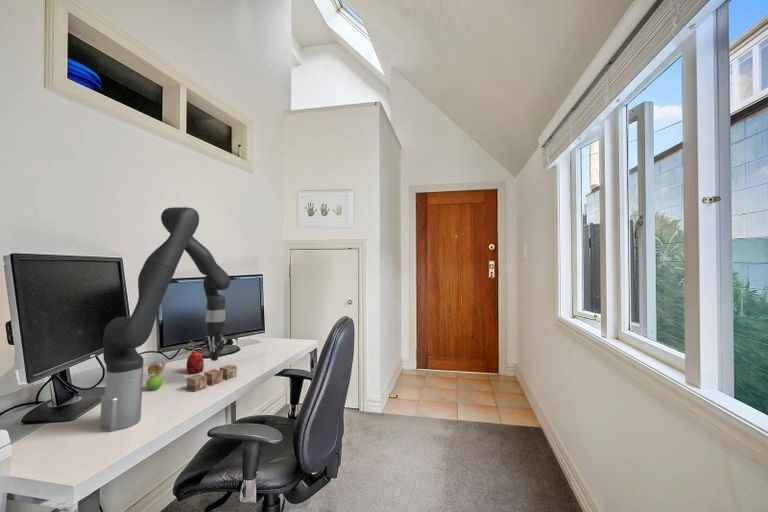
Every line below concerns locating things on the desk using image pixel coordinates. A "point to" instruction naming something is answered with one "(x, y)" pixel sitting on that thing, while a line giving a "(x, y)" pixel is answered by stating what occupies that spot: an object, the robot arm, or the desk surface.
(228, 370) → the numeral 7 block
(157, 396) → the desk surface
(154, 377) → the snail figurine
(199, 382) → the numeral 1 block
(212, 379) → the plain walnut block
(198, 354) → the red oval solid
